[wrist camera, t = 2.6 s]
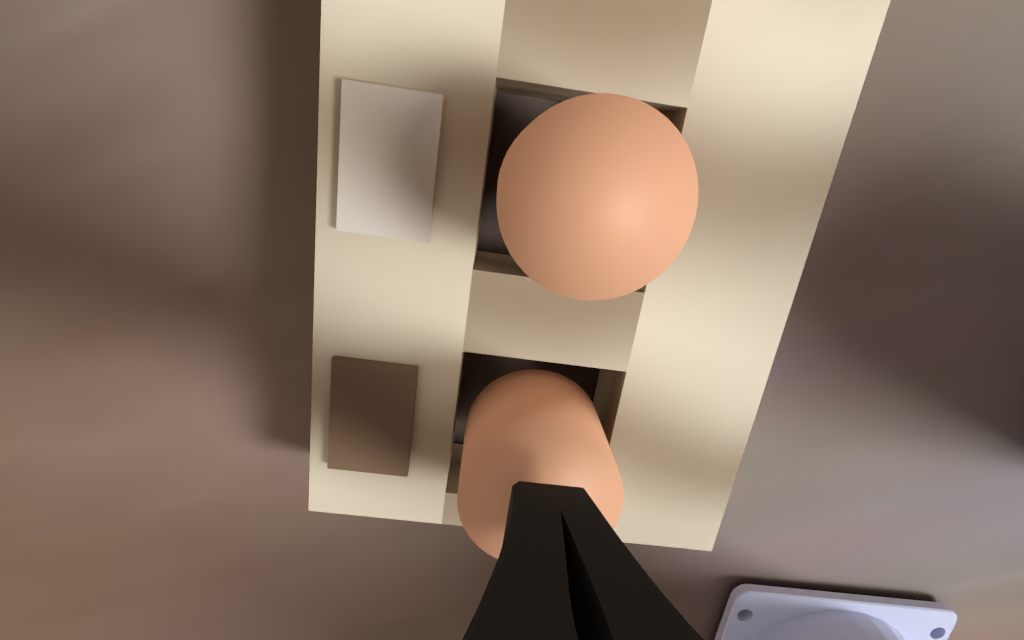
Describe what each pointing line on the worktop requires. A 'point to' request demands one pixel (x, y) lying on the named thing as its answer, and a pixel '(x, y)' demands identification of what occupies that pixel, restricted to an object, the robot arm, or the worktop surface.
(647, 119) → the button mid
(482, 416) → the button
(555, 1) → the button board
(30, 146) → the worktop surface
